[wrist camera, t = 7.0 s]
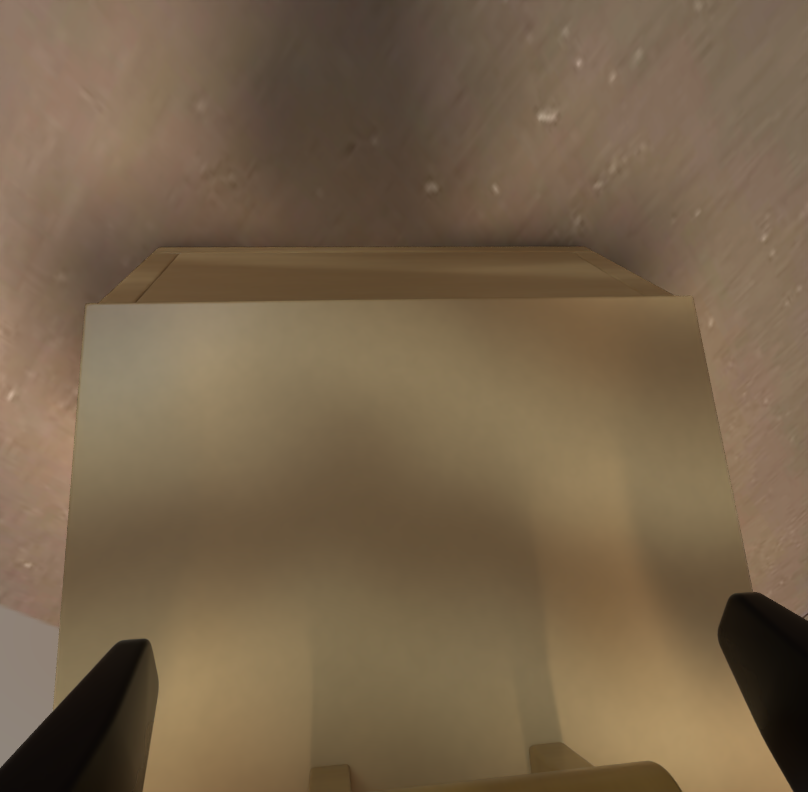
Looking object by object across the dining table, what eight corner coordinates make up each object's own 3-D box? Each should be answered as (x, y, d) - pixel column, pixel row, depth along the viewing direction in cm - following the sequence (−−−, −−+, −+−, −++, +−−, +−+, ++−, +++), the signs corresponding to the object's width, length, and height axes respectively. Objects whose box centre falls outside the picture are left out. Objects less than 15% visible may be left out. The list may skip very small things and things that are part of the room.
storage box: (546, 509, 25) (606, 617, 20) (198, 529, 23) (164, 652, 18) (585, 245, 20) (677, 295, 15) (157, 246, 19) (96, 302, 14)
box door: (780, 828, 12) (1078, 1001, 7) (51, 923, 11) (-191, 1227, 6) (678, 306, 15) (842, 181, 10) (95, 315, 13) (-39, 171, 9)
